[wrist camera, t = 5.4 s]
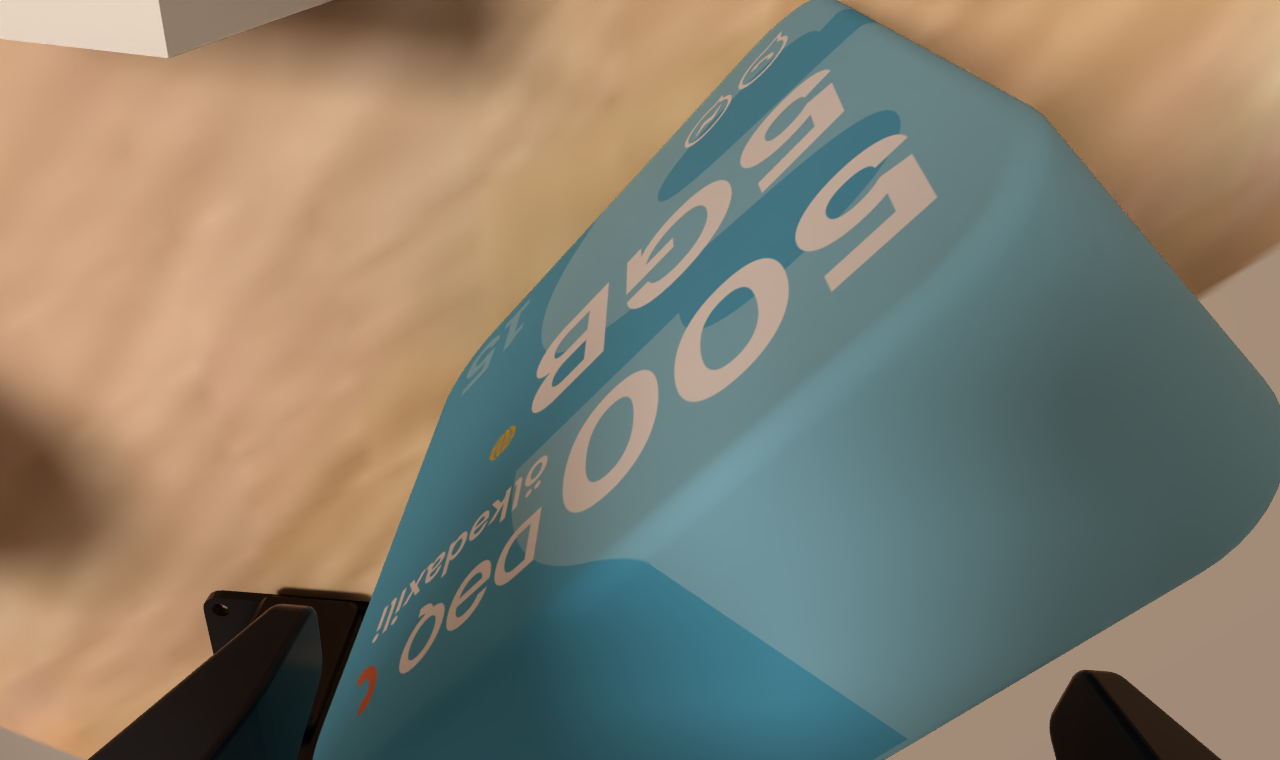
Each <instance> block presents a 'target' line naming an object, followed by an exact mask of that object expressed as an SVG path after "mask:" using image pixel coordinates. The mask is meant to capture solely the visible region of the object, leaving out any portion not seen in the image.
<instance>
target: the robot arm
mask: <svg viewBox="0 0 1280 760" xmlns="http://www.w3.org/2000/svg"><path fill="white" fill-rule="evenodd" d="M369 603H370V602H363V601H351V600H338V599H325V598H312V597H300V596H287V595H274V594H262V593H249V592H236V591H223V590H222V591H215V592H213V593H211V594H210V595H209V597H208V598H207V600H206V602H205V603H204V613H205V618H206V622H207V627H208V631H209V636H210V640H211V645H212V649H213V654H214V655H213V656H212V657H210V658H209V659H208V660H207V661H206V662H204V663H203V664H202V665H201V666H200V667H198V668H197V669H196V670H195V671H194V672H192V673H191V674H190V675H189V676H188V677H186V678H185V679H184V680H183V681H182V682H180V683H179V684H178V685H177V686H176V687H174V688H173V689H172V690H171V691H170V692H168V693H167V694H166V695H165V696H164V697H162V698H161V699H160V700H159V701H158V702H156V703H155V704H154V705H153V706H152V707H150V708H149V709H148V710H147V711H146V712H144V713H143V714H142V715H141V716H140V717H138V718H137V719H136V720H135V721H134V722H132V723H131V724H130V725H129V726H128V727H126V728H125V729H124V730H123V731H122V732H120V733H119V734H118V735H117V736H116V737H114V738H113V739H112V740H111V741H110V742H108V743H107V744H106V745H105V746H104V747H102V748H101V749H100V750H99V751H98V752H96V753H95V754H94V755H93V756H92V757H90V758H89V759H88V760H313V756H314V752H315V748H316V745H317V741H318V738H319V735H320V732H321V730H322V727H323V724H324V721H325V719H326V716H327V714H328V711H329V708H330V706H331V703H332V700H333V698H334V695H335V692H336V690H337V687H338V685H339V682H340V679H341V677H342V674H343V671H344V669H345V666H346V664H347V661H348V658H349V656H350V653H351V650H352V648H353V645H354V642H355V640H356V637H357V635H358V632H359V629H360V627H361V624H362V621H363V619H364V616H365V614H366V611H367V608H368V606H369ZM218 604H222V605H225V606H226V607H228V609H226V608H222V607H220V606H219V605H218ZM1050 736H1051V741H1052V745H1053V748H1054V752H1055V756H1056V760H1221V759H1220V758H1218V757H1217V756H1216V755H1215V754H1214V753H1213V752H1211V751H1210V750H1209V749H1208V748H1207V747H1205V746H1204V745H1203V744H1202V743H1201V742H1199V741H1198V740H1197V739H1196V738H1195V737H1194V736H1192V735H1191V734H1190V733H1189V732H1188V731H1187V730H1185V729H1184V728H1183V727H1182V726H1181V725H1179V724H1178V723H1177V722H1176V721H1174V720H1173V719H1172V718H1171V717H1170V716H1169V715H1167V714H1166V713H1165V712H1164V711H1163V710H1162V709H1160V708H1159V707H1158V706H1157V705H1155V704H1154V703H1153V702H1152V701H1151V700H1150V699H1148V698H1147V697H1146V696H1145V695H1144V694H1142V693H1141V692H1140V691H1139V690H1138V689H1137V688H1135V687H1134V686H1133V685H1132V684H1131V683H1129V682H1128V681H1127V680H1126V679H1124V678H1123V677H1122V676H1120V675H1118V674H1116V673H1112V672H1105V671H1093V670H1082V671H1079V672H1077V673H1076V674H1075V675H1074V676H1073V677H1072V679H1071V681H1070V683H1069V684H1068V686H1067V688H1066V689H1065V691H1064V693H1063V695H1062V696H1061V698H1060V700H1059V702H1058V703H1057V705H1056V707H1055V709H1054V711H1053V712H1052V715H1051V719H1050Z"/></svg>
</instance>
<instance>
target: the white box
mask: <svg viewBox="0 0 1280 760" xmlns="http://www.w3.org/2000/svg"><path fill="white" fill-rule="evenodd" d="M330 1H332V0H0V39H6V40H15V41H23V42H32V43H41V44H50V45H58V46H67V47H76V48H85V49H93V50H102V51H111V52H120V53H128V54H137V55H146V56H155V57H163V58H170V57H173V56H176V55H179V54H181V53H184V52H187V51H190V50H193V49H196V48H198V47H201V46H204V45H207V44H210V43H213V42H216V41H218V40H221V39H224V38H227V37H230V36H233V35H236V34H238V33H241V32H244V31H247V30H250V29H253V28H255V27H258V26H261V25H264V24H267V23H270V22H273V21H275V20H278V19H281V18H284V17H287V16H290V15H292V14H295V13H298V12H301V11H304V10H307V9H310V8H312V7H315V6H318V5H321V4H324V3H327V2H330Z"/></svg>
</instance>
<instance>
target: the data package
mask: <svg viewBox="0 0 1280 760" xmlns="http://www.w3.org/2000/svg"><path fill="white" fill-rule="evenodd" d="M1279 483H1280V405H1279V403H1278V401H1277V398H1276V396H1275V394H1274V392H1273V391H1272V390H1271V388H1270V387H1269V385H1268V384H1267V383H1266V381H1265V380H1264V379H1263V377H1262V376H1261V375H1260V374H1259V373H1258V371H1257V370H1256V369H1255V368H1254V367H1253V365H1252V364H1251V363H1250V362H1249V361H1248V359H1247V358H1246V357H1245V356H1244V355H1243V353H1242V352H1241V351H1240V350H1239V349H1238V348H1237V346H1236V345H1235V344H1234V343H1233V342H1232V340H1231V339H1230V338H1229V337H1228V335H1227V334H1226V333H1225V332H1224V331H1223V329H1222V328H1221V327H1220V326H1219V325H1218V324H1217V322H1216V321H1215V320H1214V319H1213V318H1212V316H1211V315H1210V314H1209V313H1208V311H1207V310H1206V309H1205V308H1204V307H1203V305H1202V304H1201V303H1200V302H1199V301H1198V299H1197V298H1196V297H1195V296H1194V295H1193V294H1192V292H1191V291H1190V290H1189V289H1188V288H1187V286H1186V285H1185V284H1184V283H1183V282H1182V280H1181V279H1180V278H1179V277H1178V276H1177V274H1176V273H1175V272H1174V271H1173V270H1172V268H1171V267H1170V266H1169V265H1168V264H1167V262H1166V261H1165V260H1164V259H1163V258H1162V256H1161V255H1160V254H1159V253H1158V252H1157V250H1156V249H1155V248H1154V247H1153V246H1152V244H1151V243H1150V242H1149V241H1148V240H1147V238H1146V237H1145V236H1144V235H1143V234H1142V232H1141V231H1140V230H1139V229H1138V228H1137V226H1136V225H1135V224H1134V223H1133V222H1132V220H1131V219H1130V218H1129V217H1128V216H1127V215H1126V213H1125V212H1124V211H1123V210H1122V209H1121V207H1120V206H1119V205H1118V204H1117V203H1116V201H1115V200H1114V199H1113V198H1112V197H1111V195H1110V194H1109V193H1108V192H1107V191H1106V189H1105V188H1104V187H1103V186H1102V185H1101V183H1100V182H1099V181H1098V180H1097V179H1096V177H1095V176H1094V175H1093V174H1092V173H1091V171H1090V170H1089V169H1088V168H1087V167H1086V165H1085V164H1084V163H1083V162H1082V161H1081V159H1080V158H1079V157H1078V156H1077V155H1076V153H1075V152H1074V151H1073V150H1072V149H1071V147H1070V146H1069V145H1068V144H1067V143H1066V141H1065V140H1064V139H1063V138H1062V137H1061V136H1060V134H1059V133H1058V132H1057V131H1056V130H1055V128H1054V127H1053V126H1052V125H1051V124H1050V122H1049V121H1048V120H1047V119H1046V118H1045V117H1044V116H1043V115H1042V114H1041V113H1039V112H1038V111H1037V110H1035V109H1034V108H1033V107H1031V106H1029V105H1027V104H1026V103H1024V102H1022V101H1020V100H1018V99H1016V98H1015V97H1013V96H1011V95H1009V94H1007V93H1006V92H1004V91H1002V90H1000V89H998V88H996V87H995V86H993V85H991V84H989V83H987V82H985V81H984V80H982V79H980V78H978V77H976V76H974V75H973V74H971V73H969V72H967V71H965V70H964V69H962V68H960V67H958V66H956V65H954V64H953V63H951V62H949V61H947V60H945V59H943V58H942V57H940V56H938V55H936V54H934V53H932V52H931V51H929V50H927V49H925V48H923V47H922V46H920V45H918V44H916V43H914V42H912V41H911V40H909V39H907V38H905V37H903V36H901V35H900V34H898V33H896V32H894V31H892V30H890V29H889V28H887V27H885V26H883V25H881V24H879V23H878V22H876V21H874V20H872V19H870V18H869V17H867V16H865V15H863V14H861V13H859V12H858V11H856V10H854V9H852V8H850V7H848V6H847V5H845V4H843V3H841V2H839V1H837V0H811V1H809V2H807V3H805V4H803V5H802V6H800V7H799V8H797V9H796V10H794V11H793V12H792V13H790V14H789V15H788V16H787V17H785V18H784V19H783V20H782V21H781V22H779V23H778V24H777V25H776V26H775V27H774V28H773V29H772V30H771V31H770V32H769V33H768V34H766V35H765V36H764V37H763V38H762V39H761V40H760V41H759V42H758V43H757V45H756V46H755V47H754V48H753V49H752V50H751V51H750V52H749V53H748V54H747V55H746V56H745V57H744V59H743V60H742V61H741V62H740V63H739V64H738V65H737V66H736V67H735V68H734V70H733V71H732V72H731V73H730V74H729V75H728V76H727V77H726V78H725V79H724V80H723V82H722V83H721V84H720V85H719V86H718V87H717V88H716V89H715V90H714V91H713V93H712V94H711V95H710V96H709V97H708V98H707V99H706V100H705V101H704V102H703V103H702V105H701V106H700V107H699V108H698V109H697V110H696V111H695V112H694V113H693V114H692V116H691V117H690V118H689V119H688V120H687V121H686V122H685V123H684V124H683V125H682V126H681V128H680V129H679V130H678V131H677V132H676V133H675V134H674V135H673V136H672V137H671V139H670V140H669V141H668V142H667V143H666V144H665V145H664V146H663V147H662V148H661V149H660V151H659V152H658V153H657V154H656V155H655V156H654V157H653V158H652V159H651V160H650V161H649V163H648V164H647V165H646V166H645V167H644V168H643V169H642V170H641V171H640V172H639V174H638V175H637V176H636V177H635V178H634V179H633V180H632V181H631V182H630V183H629V184H628V186H627V187H626V188H625V189H624V190H623V191H622V192H621V193H620V194H619V195H618V197H617V198H616V199H615V200H614V201H613V202H612V203H611V204H610V205H609V206H608V207H607V209H606V210H605V211H604V212H603V213H602V214H601V215H600V216H599V217H598V218H597V220H596V221H595V222H594V223H593V224H592V225H591V226H590V227H589V228H588V229H587V230H586V232H585V233H584V234H583V235H582V236H581V237H580V238H579V239H578V240H577V241H576V243H575V244H574V245H573V246H572V247H571V248H570V249H569V250H568V251H567V252H566V253H565V255H564V256H563V257H562V258H561V259H560V260H559V261H558V262H557V263H556V264H555V266H554V267H553V268H552V269H551V270H550V271H549V272H548V273H547V274H546V275H545V276H544V278H543V279H542V280H541V281H540V282H539V283H538V284H537V285H536V286H535V287H534V288H533V290H532V291H531V292H530V293H529V294H528V295H527V296H526V297H525V298H524V299H523V301H522V302H521V303H520V304H519V305H518V306H517V307H516V308H515V309H514V310H513V311H512V313H511V314H510V315H509V316H508V317H507V318H506V319H505V320H504V321H503V322H502V324H501V325H500V326H499V327H498V328H497V329H496V330H495V331H494V332H493V333H492V335H491V336H490V337H489V338H488V339H487V340H486V341H485V343H484V344H483V345H482V346H481V348H480V349H479V350H478V351H477V353H476V354H475V355H474V357H473V358H472V359H471V361H470V362H469V363H468V365H467V366H466V368H465V369H464V371H463V372H462V374H461V375H460V377H459V379H458V380H457V382H456V383H455V385H454V387H453V389H452V391H451V392H450V394H449V396H448V398H447V401H446V403H445V406H444V408H443V411H442V414H441V416H440V419H439V421H438V424H437V427H436V429H435V432H434V435H433V437H432V440H431V443H430V445H429V448H428V450H427V453H426V456H425V458H424V461H423V464H422V466H421V469H420V471H419V474H418V477H417V479H416V482H415V485H414V487H413V490H412V493H411V495H410V498H409V500H408V503H407V506H406V508H405V511H404V514H403V516H402V519H401V521H400V524H399V527H398V529H397V532H396V535H395V537H394V540H393V542H392V545H391V548H390V550H389V553H388V556H387V558H386V561H385V564H384V566H383V569H382V571H381V574H380V577H379V579H378V582H377V585H376V587H375V590H374V592H373V595H372V598H371V600H370V603H369V606H368V608H367V611H366V614H365V616H364V619H363V621H362V624H361V627H360V629H359V632H358V635H357V637H356V640H355V642H354V645H353V648H352V650H351V653H350V656H349V658H348V661H347V664H346V666H345V669H344V671H343V674H342V677H341V679H340V682H339V685H338V687H337V690H336V692H335V695H334V698H333V700H332V703H331V706H330V708H329V711H328V714H327V716H326V719H325V721H324V724H323V727H322V730H321V732H320V735H319V738H318V741H317V745H316V748H315V752H314V756H313V760H885V759H887V758H888V757H890V756H892V755H893V754H895V753H897V752H898V751H900V750H902V749H904V748H905V747H907V746H909V745H910V744H912V743H914V742H915V741H917V740H919V739H920V738H922V737H924V736H926V735H927V734H929V733H931V732H932V731H934V730H936V729H937V728H939V727H941V726H942V725H944V724H946V723H947V722H949V721H951V720H953V719H954V718H956V717H958V716H959V715H961V714H963V713H965V712H966V711H968V710H970V709H971V708H973V707H975V706H976V705H978V704H980V703H981V702H983V701H985V700H986V699H988V698H990V697H991V696H993V695H995V694H997V693H998V692H1000V691H1002V690H1003V689H1005V688H1007V687H1008V686H1010V685H1012V684H1014V683H1015V682H1017V681H1019V680H1020V679H1022V678H1024V677H1025V676H1027V675H1029V674H1030V673H1032V672H1034V671H1036V670H1037V669H1039V668H1041V667H1042V666H1044V665H1046V664H1047V663H1049V662H1050V661H1052V660H1054V659H1056V658H1058V657H1059V656H1061V655H1063V654H1064V653H1066V652H1068V651H1069V650H1071V649H1073V648H1074V647H1076V646H1078V645H1079V644H1081V643H1083V642H1084V641H1086V640H1088V639H1089V638H1091V637H1093V636H1095V635H1096V634H1098V633H1100V632H1101V631H1103V630H1105V629H1106V628H1108V627H1110V626H1112V625H1113V624H1115V623H1117V622H1118V621H1120V620H1122V619H1123V618H1125V617H1127V616H1129V615H1130V614H1132V613H1133V612H1135V611H1137V610H1139V609H1140V608H1142V607H1144V606H1145V605H1147V604H1149V603H1150V602H1152V601H1154V600H1156V599H1157V598H1159V597H1161V596H1162V595H1164V594H1165V593H1167V592H1169V591H1171V590H1173V589H1174V588H1176V587H1178V586H1179V585H1181V584H1183V583H1184V582H1186V581H1188V580H1189V579H1191V578H1193V577H1194V576H1196V575H1198V574H1199V573H1201V572H1203V571H1204V570H1206V569H1207V568H1209V567H1210V566H1212V565H1213V564H1215V563H1216V562H1218V561H1219V560H1221V559H1222V558H1223V557H1224V556H1225V555H1227V554H1228V553H1229V552H1230V551H1231V550H1232V549H1234V548H1235V547H1236V546H1237V545H1238V544H1239V543H1240V542H1241V541H1242V540H1243V539H1244V538H1245V537H1246V535H1248V534H1249V533H1250V531H1251V530H1252V529H1253V528H1254V527H1255V526H1256V524H1257V523H1258V521H1259V520H1260V518H1261V517H1262V516H1263V514H1264V513H1265V511H1266V510H1267V509H1268V507H1269V505H1270V503H1271V501H1272V499H1273V497H1274V495H1275V493H1276V491H1277V489H1278V486H1279Z"/></svg>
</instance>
